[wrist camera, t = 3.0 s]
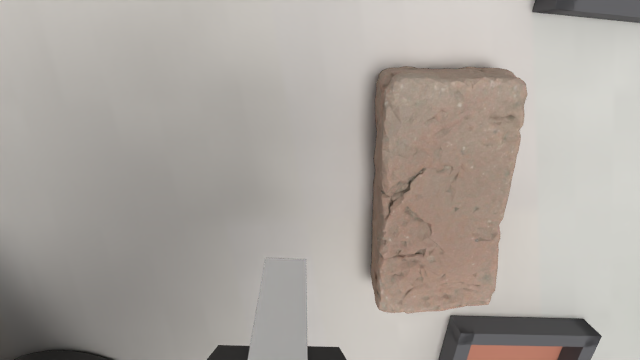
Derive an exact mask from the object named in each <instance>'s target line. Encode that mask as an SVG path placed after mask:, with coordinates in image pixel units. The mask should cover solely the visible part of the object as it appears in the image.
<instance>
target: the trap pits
mask: <svg viewBox="0 0 640 360" xmlns="http://www.w3.org/2000/svg"><path fill="white" fill-rule="evenodd" d="M533 12H538V13H548V14H558V15H568V16H578V17H588V18H598V19H608V20H617V21H627V22H637V23H640V0H536V1H535V4H534V8H533ZM601 337H602V336H601V335H600V334H599V333H598V332H597V331H596V330H595V329H594V328H592V327H591V326H590V325H589V324H588V323H587V322H586V321H585V320H584V319H561V318H521V317H480V316H451V317H450V320H449V324H448V328H447V332H446V335H445V339H444V343H443V346H442V350H441V354H440V358H439V360H591V358H592V356H593V354H594V351H595V349H596V347H597V345H598V343H599V341H600V339H601Z"/></svg>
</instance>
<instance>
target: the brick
mask: <svg viewBox="0 0 640 360" xmlns="http://www.w3.org/2000/svg"><path fill="white" fill-rule="evenodd" d="M526 97H527V90H526V84H525V82H524V81H523V80H521V79H520V78H517V77H516V76H515V75H514V74H513V73H512V72H510V71H508V70H505V69H500V68H476V67H465V68H461V69H460V68H459V69H429V68H428V69H426V68H421V69H418V68H415V67H407V66H405V67H399V68H388V69H385V70H383V71H382V72H381V73H380V74H379V79H378V81H377V83H376V97H375V121H376V129H377V136H376V147H375V153H374V165H375V178H374V182H373V189H374V194H373V219H372V226H373V229H372V263H371V278H372V285H373V289H374V294H375V301H376V305H377V307H378V309H379V310H381V311H384V312H390V313H397V312H405V313H407V314H409V313H414V312H426V311H443V310H448V309H452V308H458V307H464V306H478V305H488V304H489V302H490V300H491V296H492V294H493V292H494V291H495V286H496V276H497V268H498V250H499V249H498V243H499V240H500V228H499V224H500V222H501V221H502V219H503V216H504V212H505V208H506V204H507V200H508V196H509V191H510V186H511V180H512V176H513V172H514V168H515V163H516V156H517V153H518V150H519V145H520V139H521V136H520V132H519V130H520V128H521V127H522V126H523V122H524V103H525V100H526Z"/></svg>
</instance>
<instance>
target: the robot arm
mask: <svg viewBox="0 0 640 360" xmlns="http://www.w3.org/2000/svg"><path fill="white" fill-rule="evenodd" d="M15 360H108V359H105V358H102V357H99V356H96V355H92V354H87V353H82V352H76V351H43V352H37V353H32V354H28V355H25V356H22V357H19V358H17V359H15ZM207 360H346V358H345V356H344V355H343V353H342V351H341V350H340V348H339V347H311V346H307V286H306V259H285V258H265V264H264V269H263V275H262V281H261V287H260V292H259V298H258V304H257V309H256V315H255V321H254V326H253V332H252V338H251V343H250V346H228V345H218V346H217V348H216V349H215V350H214V351H213V353H212V354H211V355H210V356H209V358H208V359H207Z"/></svg>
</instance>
